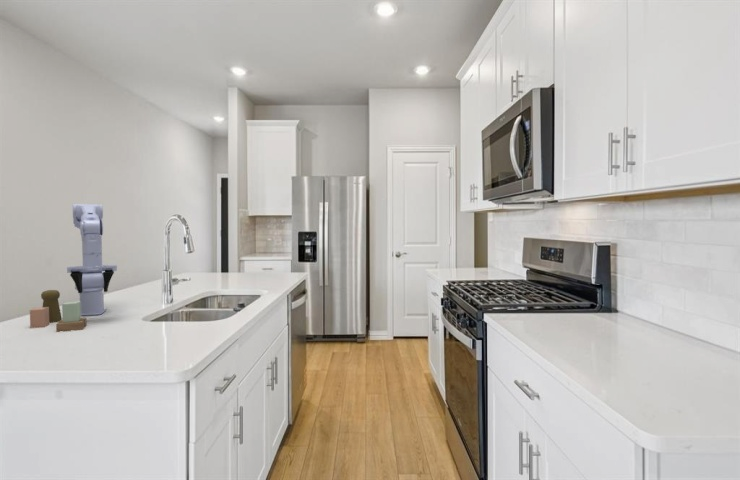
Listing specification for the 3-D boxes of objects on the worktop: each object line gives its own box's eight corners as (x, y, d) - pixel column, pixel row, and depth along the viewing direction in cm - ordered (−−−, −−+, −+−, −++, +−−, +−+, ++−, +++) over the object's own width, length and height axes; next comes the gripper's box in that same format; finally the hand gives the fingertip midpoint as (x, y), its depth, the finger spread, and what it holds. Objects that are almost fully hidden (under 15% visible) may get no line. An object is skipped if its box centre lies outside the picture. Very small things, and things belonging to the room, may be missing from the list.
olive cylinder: (52, 323, 142) (52, 291, 141) (35, 323, 142) (34, 291, 142) (66, 319, 148) (65, 289, 147) (49, 318, 148) (48, 288, 148)
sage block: (66, 319, 137) (66, 302, 136) (80, 318, 138) (80, 301, 138) (62, 322, 133) (62, 304, 133) (77, 321, 134) (76, 303, 134)
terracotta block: (35, 325, 139) (34, 307, 139) (49, 324, 141) (48, 307, 140) (30, 328, 136) (29, 310, 135) (45, 327, 137) (44, 309, 137)
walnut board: (61, 328, 137) (61, 319, 137) (86, 326, 140) (86, 317, 140) (56, 333, 131) (56, 324, 131) (82, 331, 134) (82, 321, 134)
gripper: (63, 255, 138) (64, 295, 138) (113, 253, 143) (114, 292, 143) (70, 253, 144) (71, 292, 145) (117, 252, 150) (118, 289, 150)
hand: (93, 292), depth 145 cm, fingers open, 7 cm apart
